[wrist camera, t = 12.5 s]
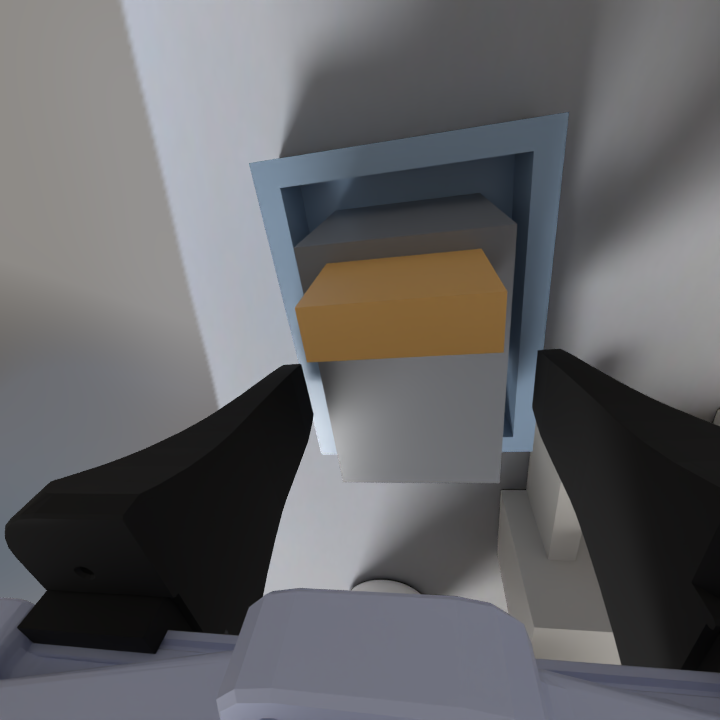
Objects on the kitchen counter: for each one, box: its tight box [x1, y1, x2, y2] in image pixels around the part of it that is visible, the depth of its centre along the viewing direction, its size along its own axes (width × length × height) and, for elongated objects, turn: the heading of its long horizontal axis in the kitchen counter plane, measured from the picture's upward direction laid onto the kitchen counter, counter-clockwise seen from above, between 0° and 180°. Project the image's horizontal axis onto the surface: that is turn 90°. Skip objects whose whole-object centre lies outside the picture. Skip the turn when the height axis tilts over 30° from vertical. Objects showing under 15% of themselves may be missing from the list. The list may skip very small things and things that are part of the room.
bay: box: [497, 409, 720, 665], centre depth 15 cm, size 10×10×6 cm
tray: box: [249, 112, 569, 454], centre depth 13 cm, size 8×10×2 cm
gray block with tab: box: [294, 193, 517, 483], centre depth 10 cm, size 7×4×8 cm, turn 8°
